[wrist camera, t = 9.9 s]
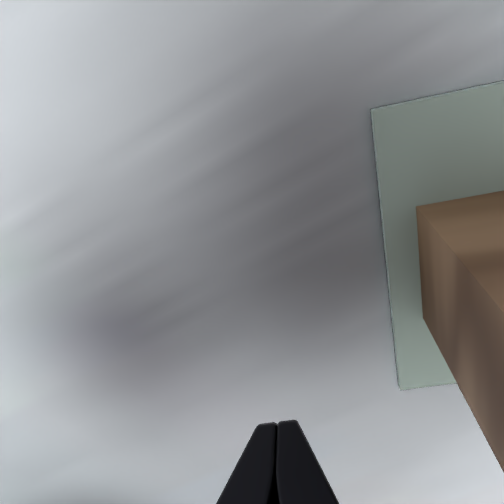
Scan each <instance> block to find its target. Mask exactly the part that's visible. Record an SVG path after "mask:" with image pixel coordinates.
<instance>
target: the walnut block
mask: <svg viewBox="0 0 504 504" xmlns="http://www.w3.org/2000/svg"><path fill="white" fill-rule="evenodd" d="M416 216H417V232H418V248H419V264H420V280H421V296H422V312H423V319H424V321H425V323H426V325H427V327H428V329H429V331H430V333H431V335H432V336H433V338H434V340H435V342H436V344H437V346H438V348H439V350H440V352H441V354H442V356H443V357H444V359H445V361H446V363H447V365H448V367H449V369H450V371H451V373H452V375H453V377H454V378H455V380H456V382H457V384H458V386H459V388H460V390H461V392H462V394H463V396H464V397H465V399H466V401H467V403H468V405H469V407H470V409H471V411H472V413H473V415H474V417H475V418H476V420H477V422H478V424H479V426H480V428H481V430H482V432H483V434H484V436H485V438H486V439H487V441H488V443H489V445H490V447H491V449H492V451H493V453H494V455H495V457H496V459H497V460H498V462H499V464H500V466H501V468H502V470H503V472H504V191H498V192H493V193H487V194H482V195H476V196H471V197H465V198H460V199H454V200H449V201H443V202H438V203H432V204H427V205H421V206H416Z"/></svg>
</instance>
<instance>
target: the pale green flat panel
mask: <svg viewBox="0 0 504 504" xmlns="http://www.w3.org/2000/svg"><path fill="white" fill-rule="evenodd" d="M370 110H371V120H372V130H373V140H374V150H375V160H376V170H377V179H378V189H379V199H380V209H381V219H382V229H383V239H384V249H385V258H386V268H387V278H388V288H389V298H390V308H391V318H392V328H393V337H394V347H395V357H396V367H397V377H398V385H399V388H400V391H401V390H408V389H416V388H424V387H431V386H439V385H447V384H455V383H457V382H456V380H455V378H454V377H453V375H452V373H451V371H450V369H449V367H448V365H447V363H446V361H445V359H444V357H443V356H442V354H441V352H440V350H439V348H438V346H437V344H436V342H435V340H434V338H433V336H432V335H431V333H430V331H429V329H428V327H427V325H426V323H425V321H424V319H423V312H422V296H421V280H420V264H419V248H418V232H417V216H416V206H421V205H427V204H432V203H438V202H443V201H449V200H454V199H460V198H465V197H471V196H476V195H482V194H487V193H493V192H498V191H504V81H499V82H495V83H490V84H485V85H481V86H476V87H471V88H467V89H462V90H457V91H453V92H448V93H443V94H439V95H434V96H430V97H425V98H420V99H416V100H411V101H406V102H402V103H397V104H392V105H388V106H383V107H378V108H374V109H370Z"/></svg>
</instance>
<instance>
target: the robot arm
mask: <svg viewBox="0 0 504 504" xmlns="http://www.w3.org/2000/svg"><path fill="white" fill-rule="evenodd" d="M216 504H339V502H338V500H337V498H336V496H335V494H334V492H333V490H332V488H331V486H330V484H329V482H328V480H327V478H326V476H325V474H324V472H323V470H322V468H321V467H320V465H319V463H318V461H317V459H316V457H315V455H314V453H313V451H312V449H311V447H310V445H309V443H308V441H307V439H306V437H305V435H304V433H303V431H302V429H301V427H300V425H299V423H298V421H296V420H288V421H281V422H279V423H278V425H277V423H275V422H272V423H264V424H259V425H258V426H257V427H256V428H255V430H254V432H253V434H252V436H251V438H250V440H249V442H248V444H247V446H246V448H245V449H244V451H243V453H242V455H241V457H240V459H239V461H238V463H237V465H236V467H235V469H234V471H233V472H232V474H231V476H230V478H229V480H228V482H227V484H226V486H225V488H224V490H223V492H222V493H221V495H220V497H219V499H218V501H217V503H216Z"/></svg>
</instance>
